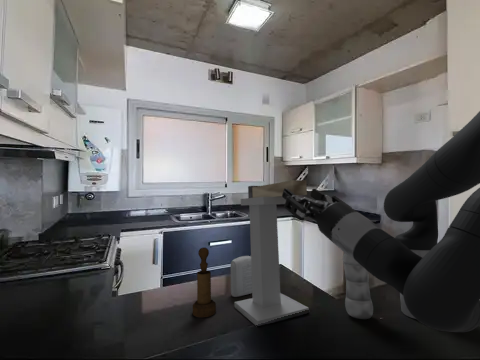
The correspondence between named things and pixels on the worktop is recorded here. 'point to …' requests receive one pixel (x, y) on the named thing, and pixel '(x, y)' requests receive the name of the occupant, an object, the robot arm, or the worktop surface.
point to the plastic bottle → (357, 289)
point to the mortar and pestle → (204, 289)
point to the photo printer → (241, 276)
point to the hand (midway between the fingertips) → (298, 192)
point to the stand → (265, 265)
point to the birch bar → (278, 189)
